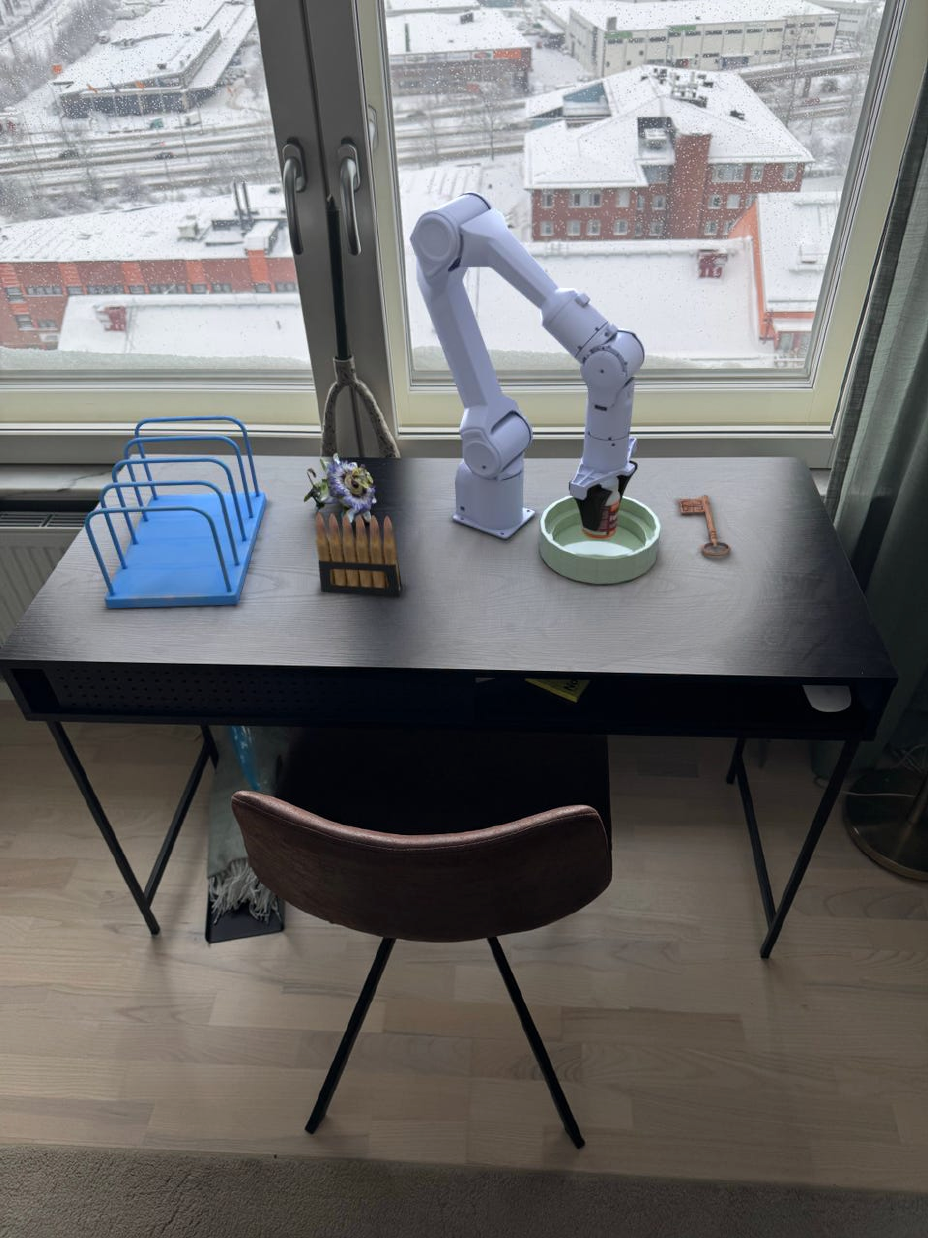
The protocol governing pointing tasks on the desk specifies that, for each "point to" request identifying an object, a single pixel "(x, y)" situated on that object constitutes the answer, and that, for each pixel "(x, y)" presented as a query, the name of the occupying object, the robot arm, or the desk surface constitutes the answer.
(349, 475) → the passion flower
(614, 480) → the pill bottle
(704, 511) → the key
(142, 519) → the file sorter
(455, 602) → the desk surface
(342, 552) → the ammunition clip
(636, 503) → the bowl
